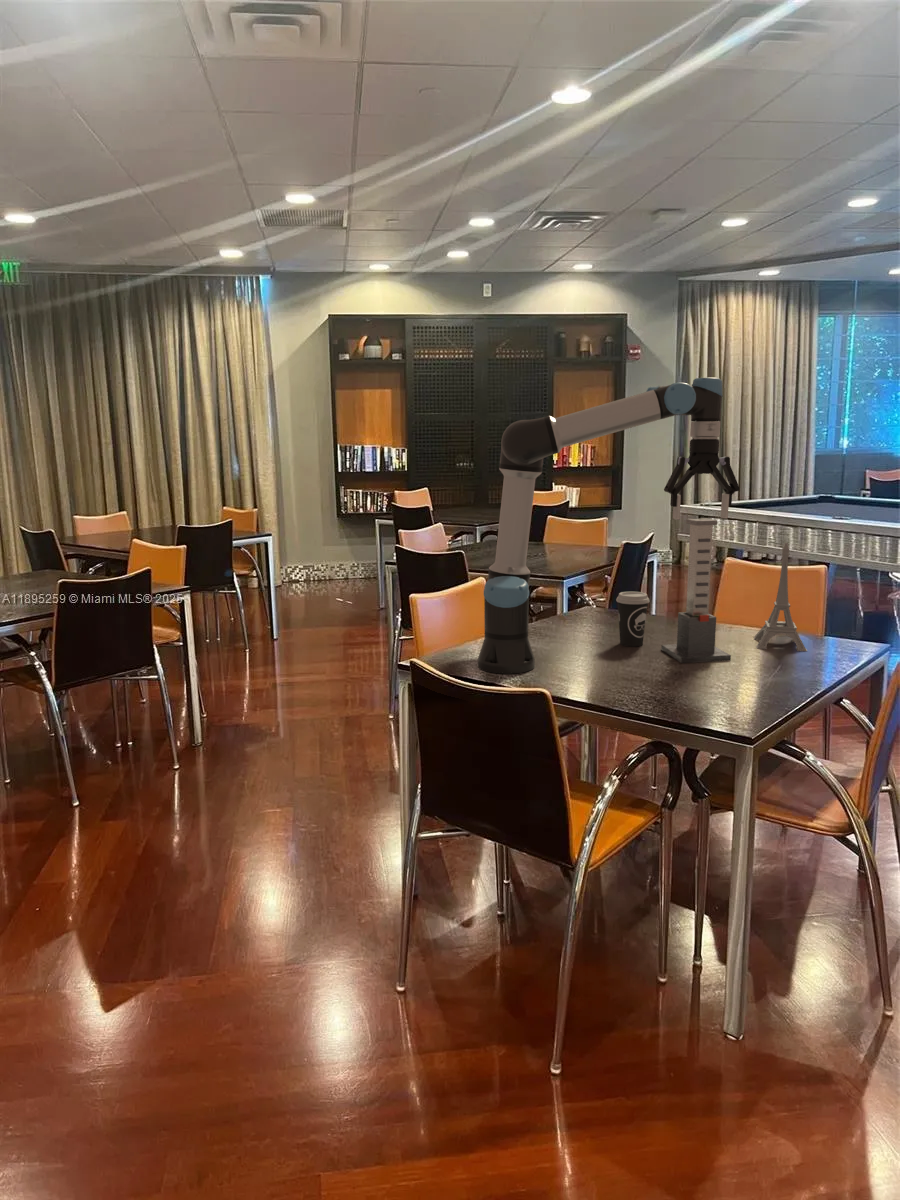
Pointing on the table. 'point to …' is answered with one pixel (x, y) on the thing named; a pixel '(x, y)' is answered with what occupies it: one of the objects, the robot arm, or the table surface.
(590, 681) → the table surface
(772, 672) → the table surface
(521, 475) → the robot arm
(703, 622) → the stand base
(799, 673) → the table surface
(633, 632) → the coffee cup
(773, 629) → the eiffel tower
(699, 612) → the column
